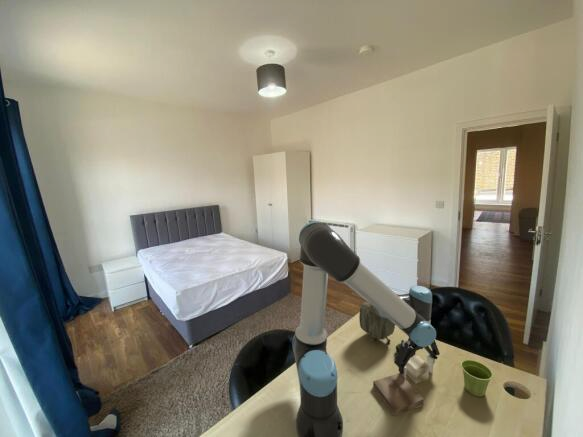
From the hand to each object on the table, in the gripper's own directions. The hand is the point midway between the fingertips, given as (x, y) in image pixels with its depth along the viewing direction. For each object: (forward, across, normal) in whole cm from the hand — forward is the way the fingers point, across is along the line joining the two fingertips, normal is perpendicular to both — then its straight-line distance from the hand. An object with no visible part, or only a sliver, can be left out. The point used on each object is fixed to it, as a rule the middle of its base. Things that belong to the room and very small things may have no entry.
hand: (416, 375), depth 99 cm
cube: (0, 0, 0) cm, 0 cm away
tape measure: (+1, +4, +11) cm, 12 cm away
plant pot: (0, +15, -12) cm, 19 cm away
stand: (0, -13, -5) cm, 14 cm away
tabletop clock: (0, -2, +24) cm, 24 cm away
